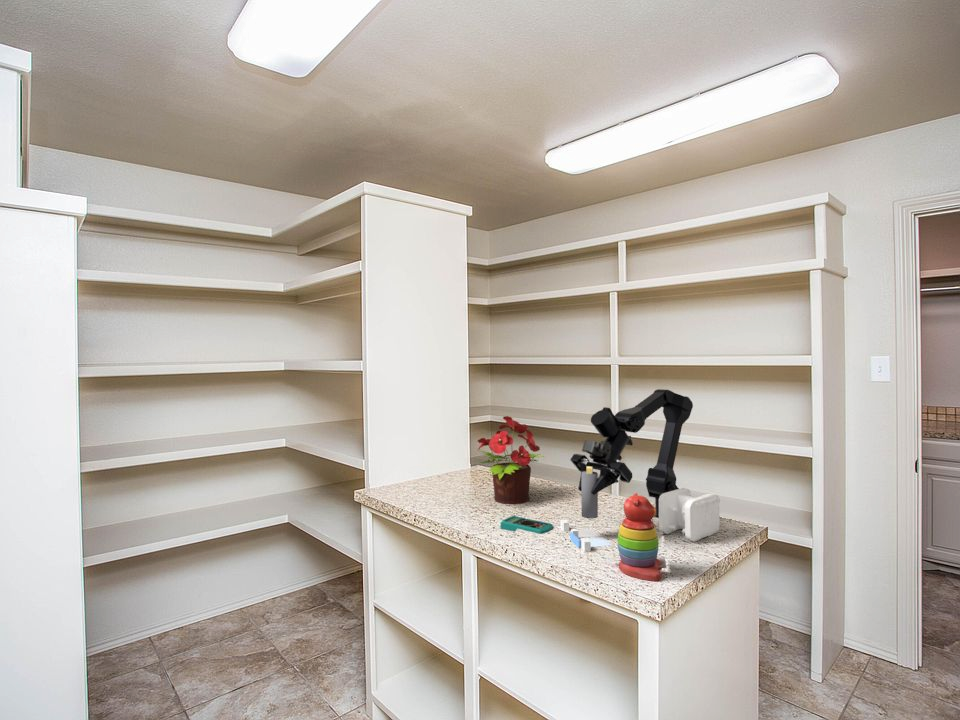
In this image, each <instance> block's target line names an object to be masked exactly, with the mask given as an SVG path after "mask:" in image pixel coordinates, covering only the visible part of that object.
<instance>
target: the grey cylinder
mask: <svg viewBox="0 0 960 720" xmlns="http://www.w3.org/2000/svg"><path fill="white" fill-rule="evenodd" d="M598 475H599V474H598V472H597V471H592V467H587V468H586V471H584V472H581V471H580V477H581V491H580V492H581V493H580V495H581V517H582V518H583V519H584V518H585V519H590V520H591V519H592V520H593V519H597V518H598V517H599V512H598V511H599V509H598V508H599V506H598V505H599V501H598V499H599V498H598V497H599V495H598V494H599V492H598V493H596V494H594V495H593V494H592V493H591V491H592V489H593V487H594V485H595V483H596V481H597V479H598V477H599V476H598Z"/></svg>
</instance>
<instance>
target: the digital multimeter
mask: <svg viewBox="0 0 960 720" xmlns="http://www.w3.org/2000/svg"><path fill="white" fill-rule="evenodd" d="M553 528H554V524H552V523H550V522H545V521H541V520H534V519H530V518H526V517H522V516H518V515H512V516H509V517H507V518H505V519H503V520H501V522H500V529H502V530H506V531H509V532H517V530H521V531H527V532H530V533H533V534H534V533H535V534H539V535H541V534H545V533H547V532H550V531H551V530H552V529H553Z"/></svg>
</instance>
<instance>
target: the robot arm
mask: <svg viewBox="0 0 960 720" xmlns="http://www.w3.org/2000/svg"><path fill="white" fill-rule="evenodd" d="M693 407H694V404H693V401H692V400H691V398H690V397H689V396H687V395H686V396H685V395H682V394H679V393H676V392H674V391H672V390H670V389H665V388H663V389H662V388H660V389H659V388H658V389H657V388H656V389H655V390H654V391H653V393H651V394H650V395H648V396H647V397H646V398H644V399H643V400H642V401H640V402H638V404H637V405H635V406H634V407H630V408H624V409H622V410H619V411H618V412H616V413H615V414H614V412H613V411H612V409H611V408H610V407H605V406H604V407H603V408H602V409H601V410H598V411H597V412H595V413H593V414H592V415H591V417H590V422H591V424H592V426H593V427H594V428H595V430H596V431H597V432H598V434H599V435H600V436H601V437H602V438H605V440H601V441H600V442H598V441H594V440H587V439H585V440H584V442H583V446H582V448H581V452H584V453H585V452H586V453H587V454H588V455H589V456H588V457H589V458H590V459H591V460H592V461H591V460H589V458H588V457H587V456H586V454H579V453H574V454H572V457H571V458H570V461H571V463H572V464H573V465H574V466H575V468H576V469H577V470H578V471H579V472H580V473H581V472H584V471H586V468H587V467H592V471H593V470H597V471H599V476H598V479H597V481H596V483H595V485H594V487H593V489H592V491H591V493H592V494H593V495H594V494H596V493H598V494H599V492H601V491H602V490H604V489H606V488H608V487H610V486H612V485H614V484H615V483H616V484H617V483H619V482H620V481H621V482H622V483H627V484H630V483H631V481H632V479H633V472H632V471H631V469H630V468H629V467H628V466H627V464H626V463H625V462H622V461H621V460H622V459H623V457H622V456H621V454H622V452H623V451H624V450H625V448H626V446H633V440H632V436H631V435H628V434H627V433H635V434H636V433H638V432H640V430H642V428H643V427H644V426H645V425H646V424H645V423H646V420H647V419H648V418H649V417H650V416H651V415H653V414H654V413H655V412H657V411H658V410H660V409H661V408H662V413H663V416H664V419H665V424H664V430H663V432H662V433H663V434H662V437H661V441H660V442H661V444H660V448H659V451H658V457H657V461H656V464H655V465H654V466H653V468H652V467H649V468H648V470H647V476H646V477H645V481H646V482H645V486H646V491H647V493H648V497H650V498H655V500H654V501H655V503H654V504H655V506H654V507H655V508H656V510H657V511H656V514H655V516H654V517H653V518H658V519H659V497H660V495H661V494H663V493H666V492H670V491H673V490H677V489H680V488H679V487H678V486H677V476H676V474H675V471H674V466H675V460H676V456H677V452H678V447H679V442H680V438H681V434H682V433H681V431H682V428H683V424H685V422H686V421H688V419H689V418H690V416H691V413H692V410H693ZM593 472H594V471H593ZM579 477H580V478H579V484H578V491H579V492H581V476H579ZM619 480H620V481H619Z"/></svg>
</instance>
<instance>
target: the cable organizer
mask: <svg viewBox="0 0 960 720" xmlns="http://www.w3.org/2000/svg"><path fill="white" fill-rule="evenodd" d="M691 491H692V490H690V489H689V488H685V487H682V488H681V487H680V488H679V489H677V490H673V491H670V492H666V493H663V494H661V495H660V497H659V518H658V529H659V531H660V532H662V533H664V534H665V535H669V534H671V533H673V532H675V531H676V530H682V531H681V533H682V535H683V536H684V537H685V539H686V540H688V541H689V540H690V541H691V542H693V543H694V542H697V541H700V540H701V539H703V538H705V537H707V536H708V537H710V536H712V535H714V534H716V533H717V532H718V531H719V529H720V526H721V525H720V503H721V499H720V497H719V495H718V494H715V493H706V494H703V495H699V496H695V497H694V496H692V493H691Z"/></svg>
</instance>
